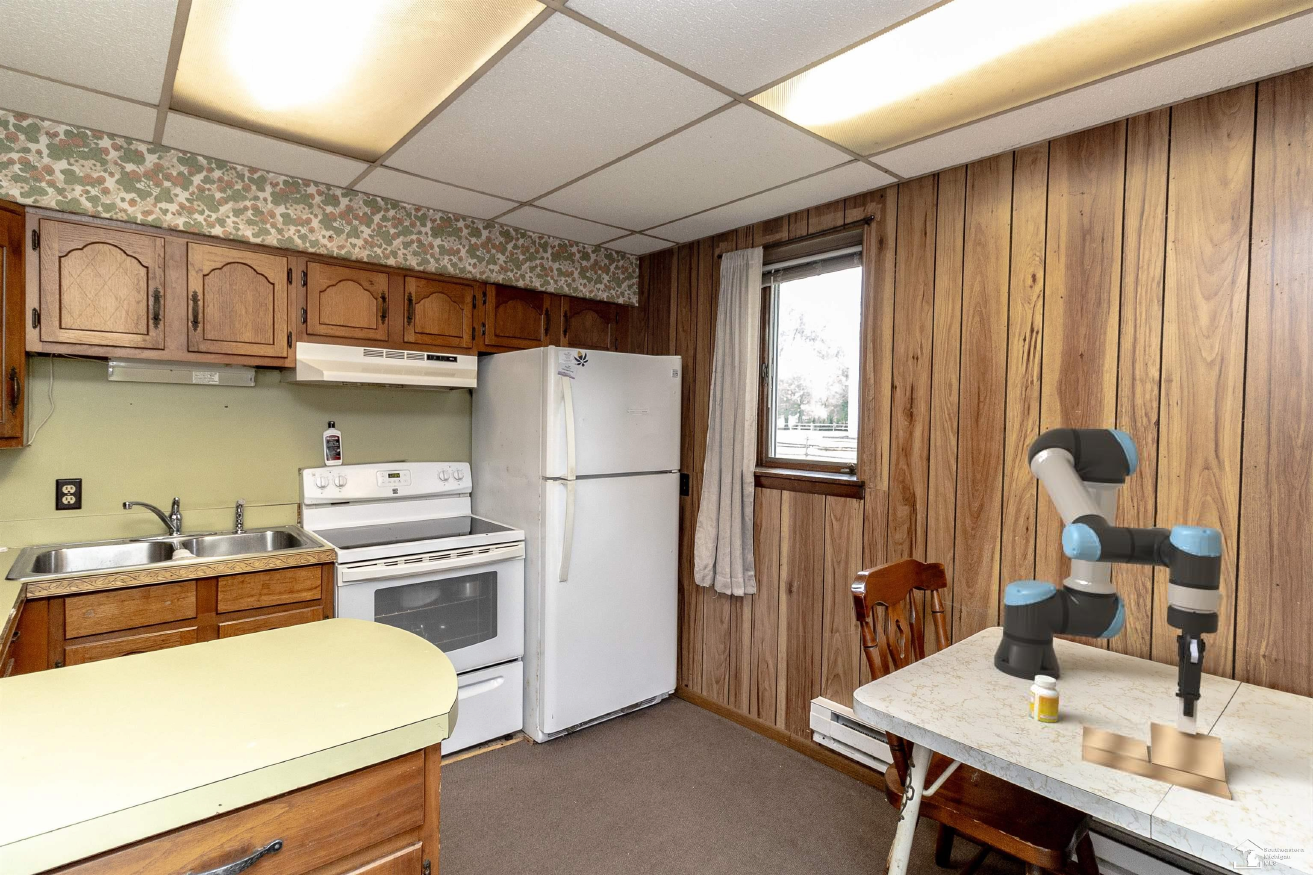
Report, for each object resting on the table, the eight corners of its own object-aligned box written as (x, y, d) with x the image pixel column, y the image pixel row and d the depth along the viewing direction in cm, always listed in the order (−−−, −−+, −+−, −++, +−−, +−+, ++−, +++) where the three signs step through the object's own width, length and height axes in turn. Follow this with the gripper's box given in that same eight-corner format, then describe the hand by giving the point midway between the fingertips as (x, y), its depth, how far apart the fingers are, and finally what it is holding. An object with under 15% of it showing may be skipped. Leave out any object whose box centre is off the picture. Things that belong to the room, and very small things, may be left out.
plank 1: (1081, 750, 129) (1082, 743, 129) (1082, 732, 137) (1083, 725, 137) (1148, 768, 124) (1148, 760, 124) (1145, 747, 131) (1145, 741, 131)
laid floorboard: (1081, 763, 124) (1081, 756, 124) (1081, 752, 129) (1082, 745, 129) (1230, 804, 112) (1231, 796, 112) (1225, 790, 117) (1225, 782, 117)
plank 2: (1151, 767, 124) (1152, 762, 123) (1150, 726, 130) (1150, 721, 129) (1224, 786, 118) (1225, 781, 117) (1219, 742, 124) (1220, 737, 123)
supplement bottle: (1023, 718, 144) (1025, 675, 144) (1039, 714, 146) (1041, 672, 146) (1047, 729, 139) (1049, 684, 139) (1063, 725, 141) (1065, 681, 141)
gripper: (1223, 619, 117) (1217, 750, 117) (1213, 604, 128) (1207, 724, 128) (1170, 611, 121) (1164, 737, 122) (1164, 597, 132) (1158, 714, 132)
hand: (1186, 730), depth 125 cm, fingers closed
